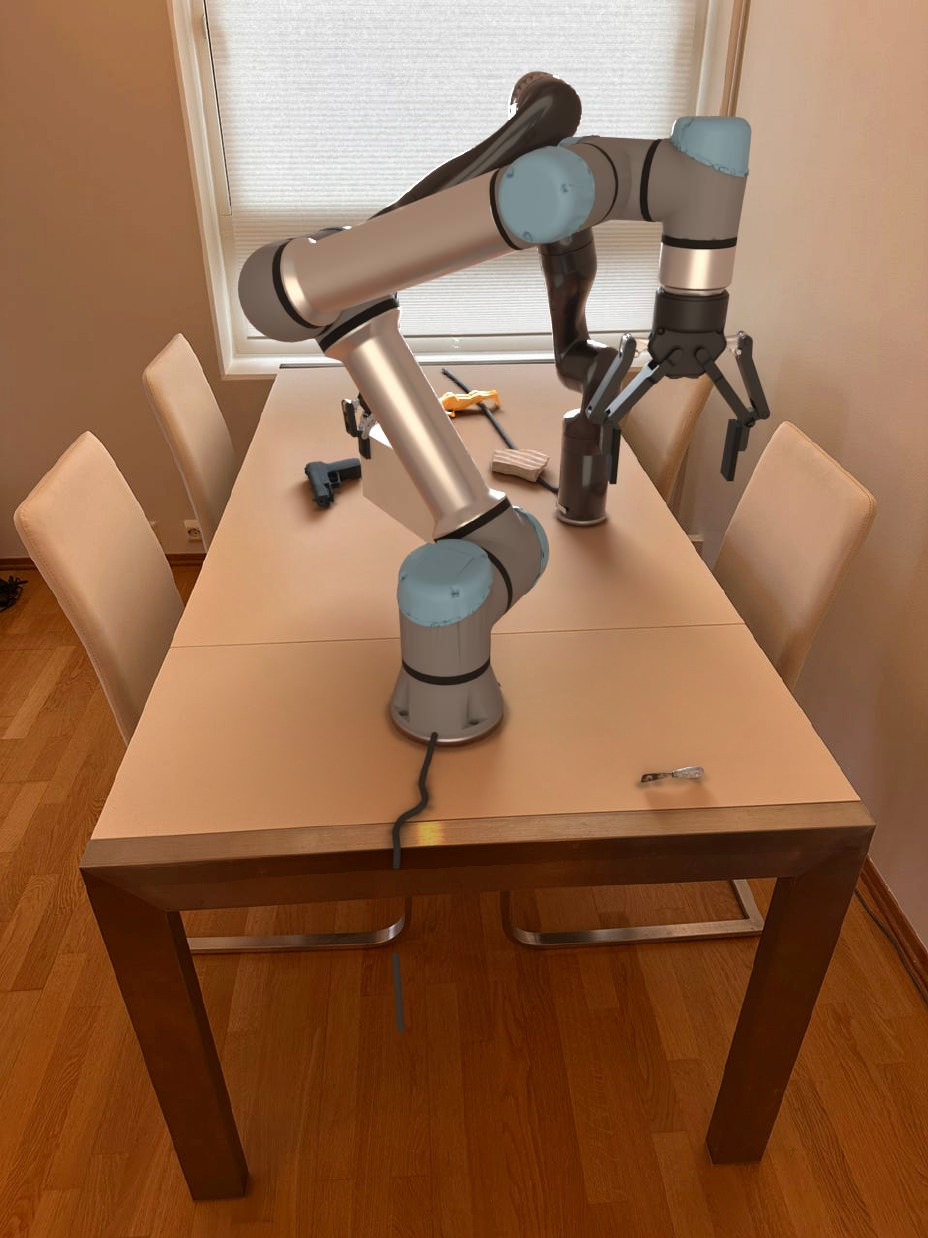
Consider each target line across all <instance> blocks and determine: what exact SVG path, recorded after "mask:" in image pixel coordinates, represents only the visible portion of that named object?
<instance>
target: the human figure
mask: <svg viewBox="0 0 928 1238" xmlns="http://www.w3.org/2000/svg"><path fill="white" fill-rule="evenodd" d="M472 391H473V392H471V393H469V392H468V394H460V393H457V394H455V393H453V392H446V393H444V394H443V395H442V396H441V397H440V398H438V399H439V400H440V402H441V404H442V406H443V407H444V409H445V411H446V413H447V414H448V416H450V417H451V418H452V417H453V418H454V417H455V416H456V414H455V411H462V410H464V409H467V408H469V407H471V406H473V405H476V404H479V403H478V402H484V401H488V400H493V402H494V403H495V404H496V405H497V406H500V398H499V393H498V392H497V391H496V390H495V389H493V390H491V391H478V390H472ZM450 410H452V411H450Z"/></svg>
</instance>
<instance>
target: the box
mask: <svg viewBox="0 0 928 1238" xmlns="http://www.w3.org/2000/svg"><path fill="white" fill-rule="evenodd" d="M368 438H369V439H370V455H371V459H367V460H366V459H365V458H364V457H363V456H362V455H360V454H359V456H360V457H359V459H360V463H361V472H362V478H361V486H362V496H363V497H364V498H366V499H367V500H368V501H370V502H371V503H372V504H374V505H375V506H376V507H378V508H379V509H380V510H382V511H383V512H384V513H386V514H387V515H389V516H390V517H391V518H393V519H394V520H395V521H397V522H398V523H399V524H400V525H402V526H403V527H405V528H406V529H407V530H409V531H410V532H411V533H413V534H414V535H415V536H417V537H418V538H419V539H421V540H422V541H424V542H425V543H426V544H427V543H431V544H436V543H435V542H434V540H433V538H432V533H433V529H434V524H435V520H434V518H433V516H432V514H431V513H430V511H429V509H428V508H427V506H426V504H425V503H424V501H423V499H422V497H421V496H420V494H419V492H418V491H417V489H416V487H415V485H414V484H413V482H412V480H411V479H410V477H409V475H408V473H407V472H406V470H405V468H404V467H403V465H402V463H401V462H400V460H399V458H398V456H397V455H396V453H395V451H394V450H393V448H392V446H391V444H390V443H389V441H388V439H387V438H386V436H385V434H384V433H383V431H382V429H381V427H380V426H379V424H378V423H377V424H375V425H374V427H372V429H371V431H370V433H369V436H368Z"/></svg>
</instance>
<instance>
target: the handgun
mask: <svg viewBox="0 0 928 1238" xmlns="http://www.w3.org/2000/svg"><path fill="white" fill-rule="evenodd" d="M303 471H304V474H305V475H306V477H307V479H308V482H309V485H310V488H311V491H312V493H313V497H314V498H313V499H311V500H312V502H314V503H315V504H316V506H318V508H321V509H323V508H324V509H325V508H329V507H330V505H331V503H332V504H334V502H335V500H334V499H335V498H334V492H333V490H336V489H340V488H341V483H343V482H347V481H351V480H355V479H360V478H361V479H362V472H361V458H360V457H350V458H346V459H345V458H344V459H341V460H336V461H332V462H329V463H326V462H324V461H321V460H319V461H311V462H308V463H306V464H305V467H304V468H303Z"/></svg>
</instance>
